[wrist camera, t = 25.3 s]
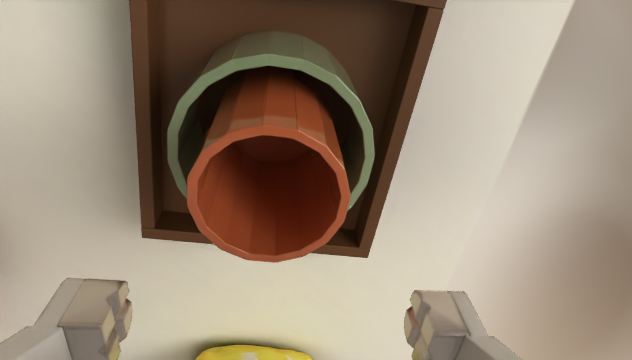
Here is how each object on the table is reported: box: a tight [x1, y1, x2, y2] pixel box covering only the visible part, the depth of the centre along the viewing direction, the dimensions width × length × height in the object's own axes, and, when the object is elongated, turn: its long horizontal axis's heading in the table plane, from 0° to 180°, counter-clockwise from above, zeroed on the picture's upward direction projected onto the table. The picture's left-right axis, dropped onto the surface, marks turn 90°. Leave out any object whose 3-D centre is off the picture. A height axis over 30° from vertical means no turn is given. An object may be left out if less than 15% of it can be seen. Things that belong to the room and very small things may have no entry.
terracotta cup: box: [187, 66, 351, 262], centre depth 20 cm, size 6×6×9 cm
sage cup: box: [167, 30, 375, 211], centre depth 22 cm, size 10×10×6 cm
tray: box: [129, 0, 447, 258], centre depth 23 cm, size 17×15×3 cm
